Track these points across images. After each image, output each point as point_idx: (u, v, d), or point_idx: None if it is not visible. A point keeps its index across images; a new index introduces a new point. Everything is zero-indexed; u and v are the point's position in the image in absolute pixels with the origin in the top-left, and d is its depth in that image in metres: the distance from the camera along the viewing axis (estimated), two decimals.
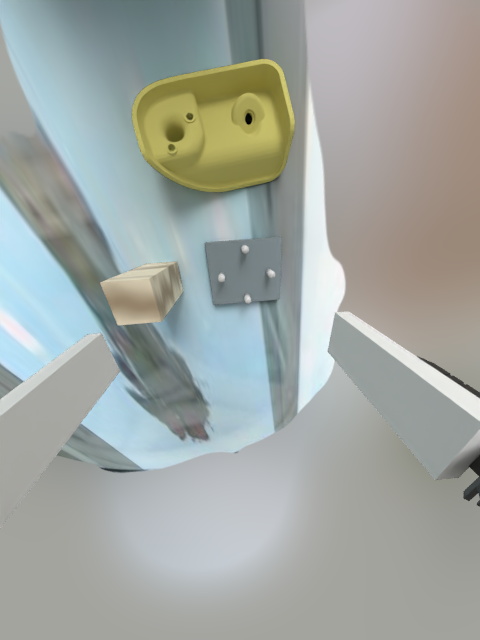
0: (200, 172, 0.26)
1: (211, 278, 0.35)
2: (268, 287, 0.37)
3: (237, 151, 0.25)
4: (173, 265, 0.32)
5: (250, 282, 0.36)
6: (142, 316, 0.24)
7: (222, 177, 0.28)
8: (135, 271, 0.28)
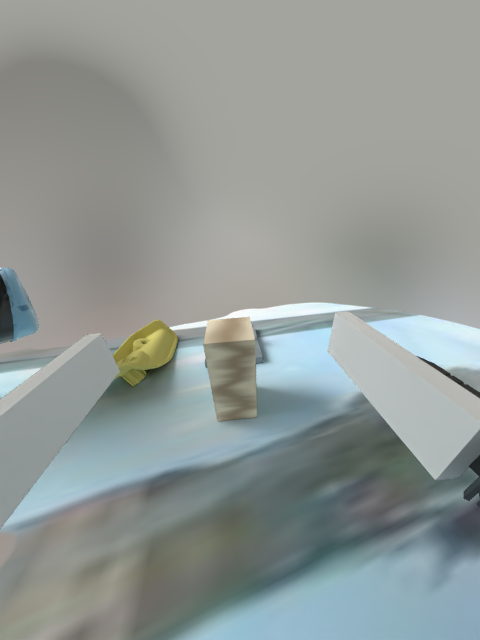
0: (154, 357, 0.36)
1: None
2: None
3: (155, 341, 0.41)
4: None
5: None
6: (243, 325, 0.24)
7: (164, 353, 0.40)
8: None
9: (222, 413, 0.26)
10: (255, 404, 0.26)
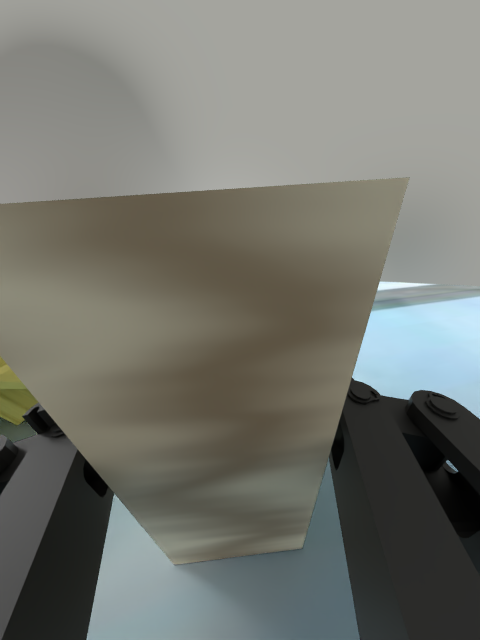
0: None
1: None
2: None
3: None
4: None
5: None
6: None
7: None
8: None
9: (184, 551, 0.08)
10: (303, 525, 0.07)
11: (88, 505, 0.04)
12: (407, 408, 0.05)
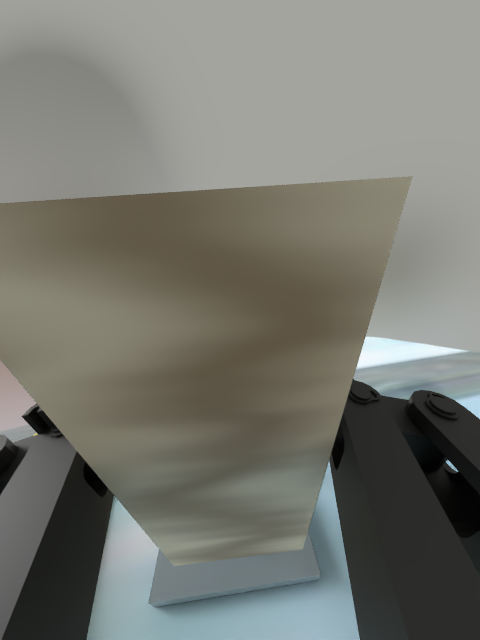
0: None
1: (242, 580, 0.13)
2: None
3: None
4: None
5: None
6: None
7: None
8: None
9: (184, 552, 0.07)
10: (304, 527, 0.07)
11: (88, 505, 0.04)
12: (407, 408, 0.05)
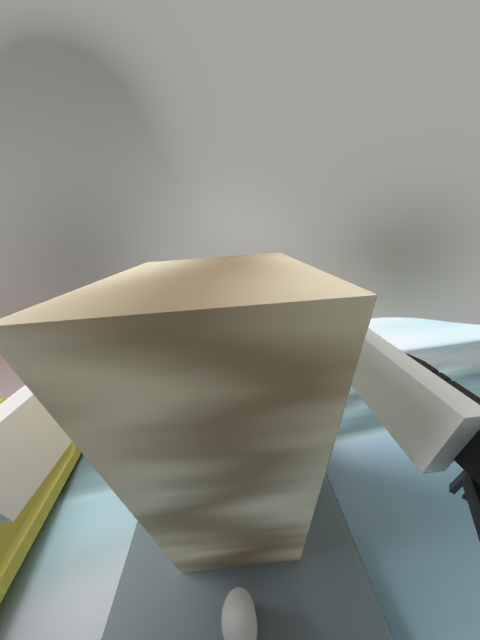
0: None
1: None
2: None
3: None
4: None
5: None
6: (267, 262, 0.06)
7: None
8: None
9: (191, 561, 0.08)
10: (300, 540, 0.08)
11: None
12: None
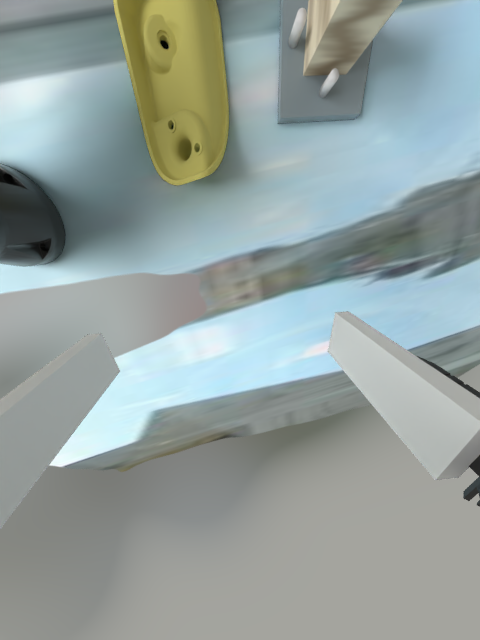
0: (213, 125, 0.25)
1: (324, 112, 0.26)
2: None
3: (195, 60, 0.22)
4: None
5: None
6: None
7: (217, 101, 0.25)
8: None
9: (314, 65, 0.23)
10: (358, 56, 0.22)
11: None
12: None
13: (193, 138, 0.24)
